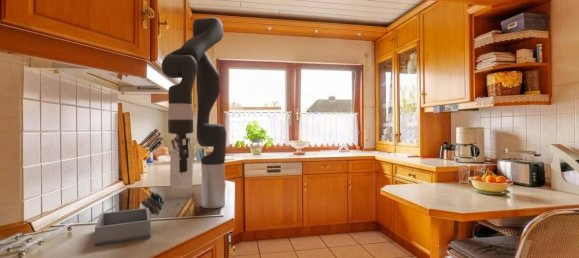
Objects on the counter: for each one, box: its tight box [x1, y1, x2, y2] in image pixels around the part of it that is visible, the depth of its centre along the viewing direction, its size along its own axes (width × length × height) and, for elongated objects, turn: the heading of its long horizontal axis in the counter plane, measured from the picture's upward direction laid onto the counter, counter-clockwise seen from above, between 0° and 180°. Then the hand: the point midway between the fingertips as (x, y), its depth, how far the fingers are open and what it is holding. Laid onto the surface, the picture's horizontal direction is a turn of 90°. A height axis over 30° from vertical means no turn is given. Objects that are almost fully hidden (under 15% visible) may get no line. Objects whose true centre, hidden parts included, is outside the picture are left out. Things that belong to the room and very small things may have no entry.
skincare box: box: [169, 148, 194, 190], centre depth 95 cm, size 6×4×12 cm
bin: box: [94, 207, 152, 247], centre depth 90 cm, size 16×14×5 cm
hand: (181, 170), depth 95 cm, fingers closed on skincare box, 7 cm apart
